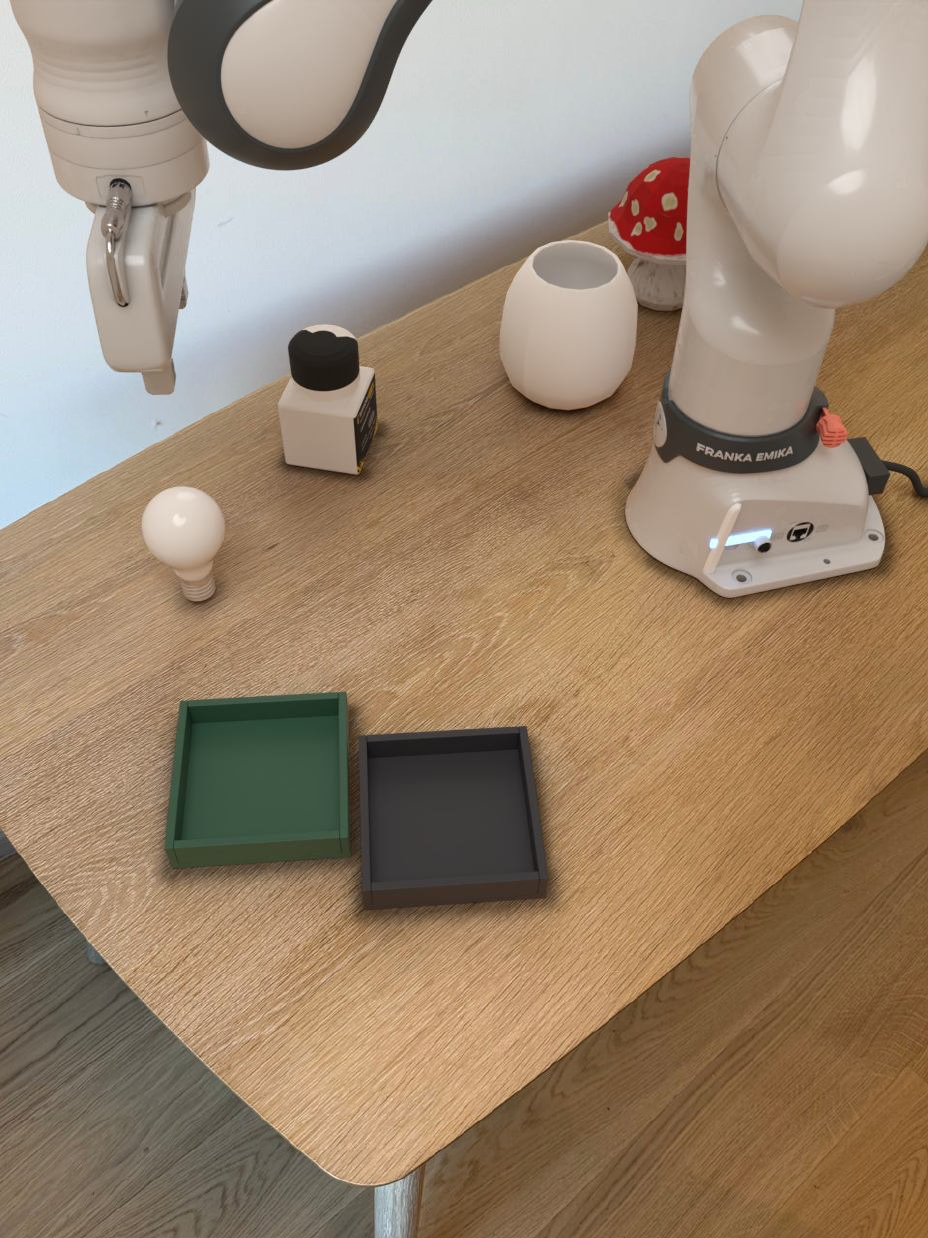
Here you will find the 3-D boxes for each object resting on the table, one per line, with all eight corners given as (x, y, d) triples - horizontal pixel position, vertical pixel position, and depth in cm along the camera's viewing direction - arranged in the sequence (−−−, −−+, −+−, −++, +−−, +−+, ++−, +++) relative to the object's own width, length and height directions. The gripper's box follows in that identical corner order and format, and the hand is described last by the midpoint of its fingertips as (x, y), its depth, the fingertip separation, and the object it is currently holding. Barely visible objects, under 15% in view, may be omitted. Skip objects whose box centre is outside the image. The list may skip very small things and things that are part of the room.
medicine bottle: (359, 477, 101) (351, 369, 92) (284, 465, 102) (269, 357, 92) (378, 427, 105) (373, 320, 96) (307, 417, 106) (294, 310, 97)
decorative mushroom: (666, 348, 114) (691, 214, 103) (571, 290, 121) (584, 159, 109) (750, 299, 120) (783, 167, 109) (655, 246, 127) (677, 117, 116)
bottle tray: (524, 747, 82) (526, 725, 80) (545, 898, 74) (548, 878, 72) (360, 756, 81) (358, 735, 79) (364, 910, 73) (361, 891, 71)
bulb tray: (348, 713, 84) (346, 691, 81) (351, 857, 76) (348, 837, 74) (186, 722, 83) (179, 700, 81) (171, 869, 75) (163, 849, 73)
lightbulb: (226, 628, 89) (204, 532, 80) (150, 618, 89) (120, 521, 81) (248, 571, 93) (229, 474, 84) (175, 562, 93) (150, 464, 85)
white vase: (655, 382, 111) (676, 262, 100) (574, 445, 104) (588, 324, 94) (552, 329, 116) (563, 210, 106) (469, 386, 110) (472, 265, 99)
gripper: (166, 237, 57) (205, 444, 67) (197, 65, 70) (225, 260, 80) (41, 238, 56) (100, 447, 67) (95, 65, 69) (137, 262, 80)
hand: (169, 343), depth 74 cm, fingers open, 8 cm apart
